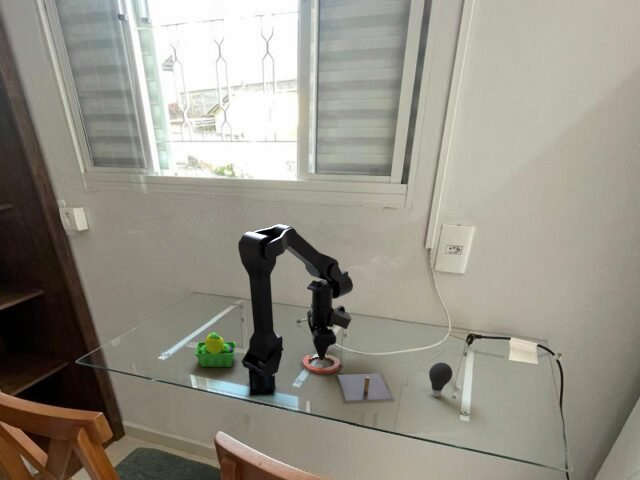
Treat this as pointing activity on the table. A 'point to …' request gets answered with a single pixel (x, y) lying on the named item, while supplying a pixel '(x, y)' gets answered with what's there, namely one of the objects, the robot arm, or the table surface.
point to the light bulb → (439, 377)
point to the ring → (320, 370)
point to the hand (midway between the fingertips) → (319, 352)
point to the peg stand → (364, 387)
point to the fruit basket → (215, 352)
